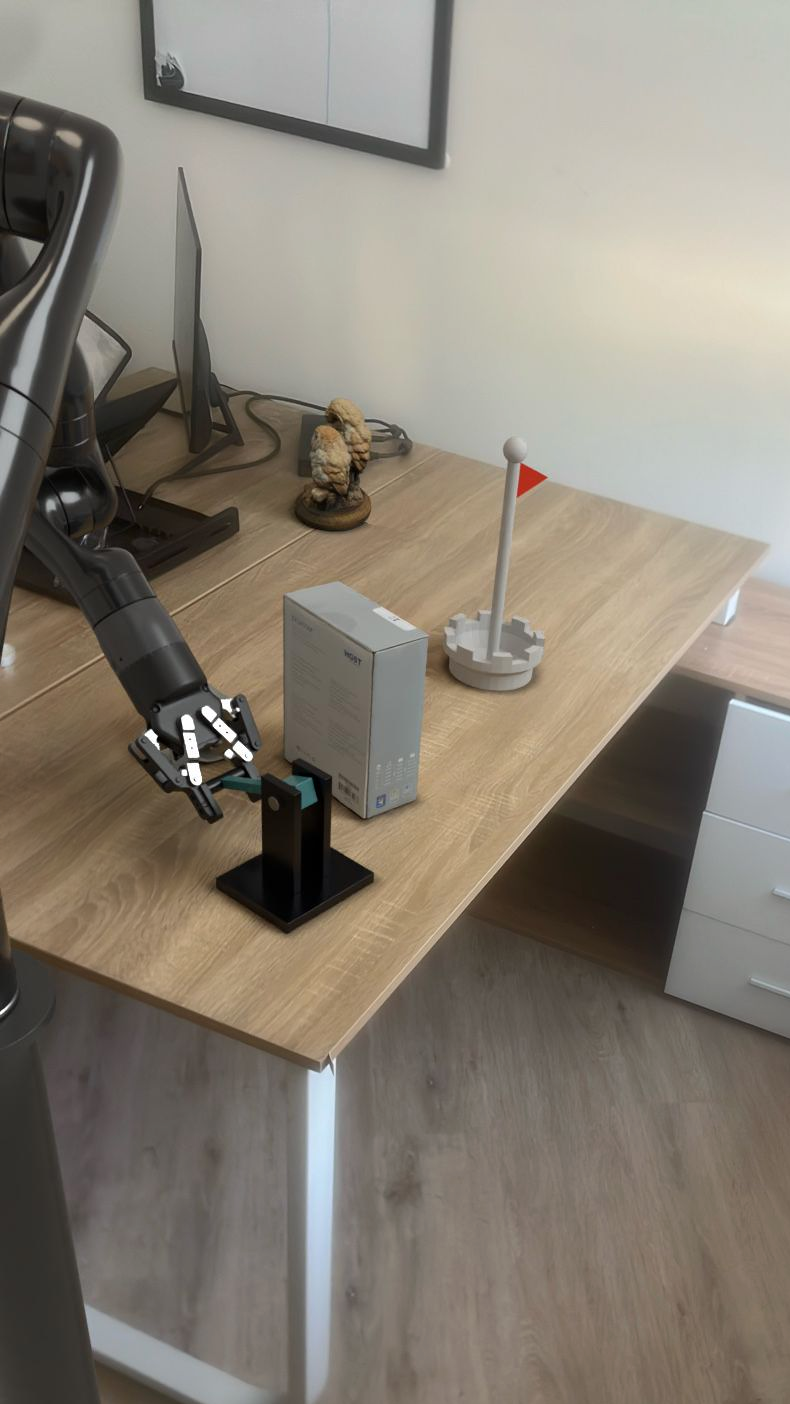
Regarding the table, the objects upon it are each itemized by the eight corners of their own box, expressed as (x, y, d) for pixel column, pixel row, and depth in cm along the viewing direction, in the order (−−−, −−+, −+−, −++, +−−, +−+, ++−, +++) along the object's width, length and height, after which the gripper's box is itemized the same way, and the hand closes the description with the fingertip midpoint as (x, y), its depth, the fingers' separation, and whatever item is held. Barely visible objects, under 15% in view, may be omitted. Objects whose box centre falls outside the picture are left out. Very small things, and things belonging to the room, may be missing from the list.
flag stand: (473, 701, 160) (499, 461, 141) (423, 655, 168) (440, 422, 149) (558, 684, 167) (594, 453, 147) (506, 641, 174) (533, 415, 155)
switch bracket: (215, 887, 125) (210, 777, 117) (303, 839, 133) (304, 733, 125) (287, 933, 121) (287, 823, 113) (373, 882, 129) (379, 774, 121)
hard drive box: (419, 801, 142) (432, 636, 129) (364, 822, 137) (372, 653, 124) (334, 739, 149) (339, 577, 136) (279, 757, 145) (279, 592, 132)
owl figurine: (304, 484, 208) (305, 374, 197) (376, 493, 209) (381, 385, 198) (287, 526, 194) (287, 411, 183) (364, 536, 195) (369, 422, 184)
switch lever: (202, 801, 126) (195, 778, 125) (240, 783, 129) (233, 760, 128) (290, 815, 118) (284, 791, 117) (328, 795, 122) (322, 772, 121)
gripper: (105, 664, 117) (200, 827, 120) (223, 620, 126) (309, 772, 129) (74, 694, 123) (166, 849, 125) (190, 650, 132) (273, 795, 135)
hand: (238, 809), depth 127 cm, fingers closed on switch lever, 5 cm apart
